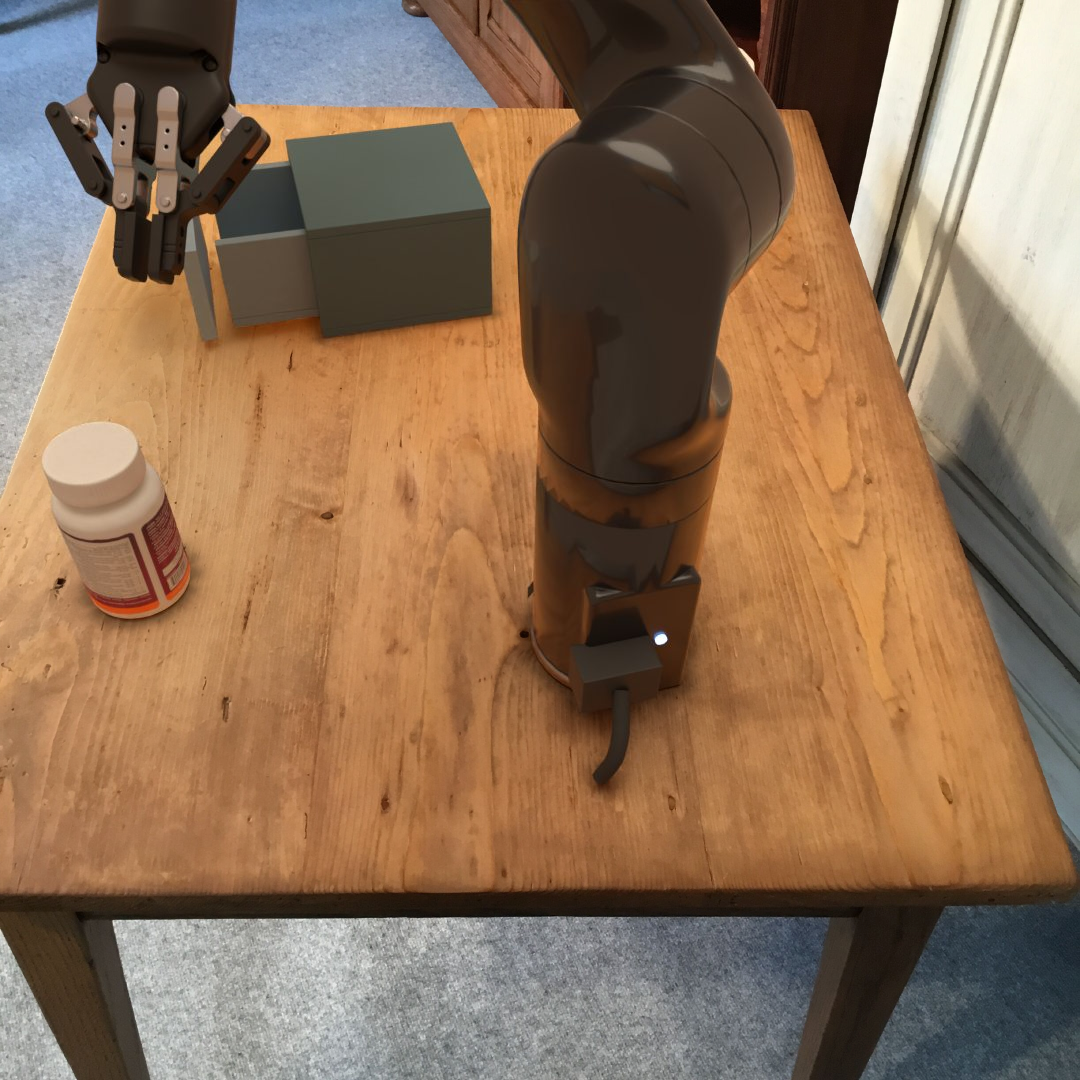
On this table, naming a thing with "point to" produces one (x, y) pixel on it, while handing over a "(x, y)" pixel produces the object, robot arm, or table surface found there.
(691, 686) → the table surface
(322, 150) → the cabinet
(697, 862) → the table surface
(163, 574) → the pill bottle
